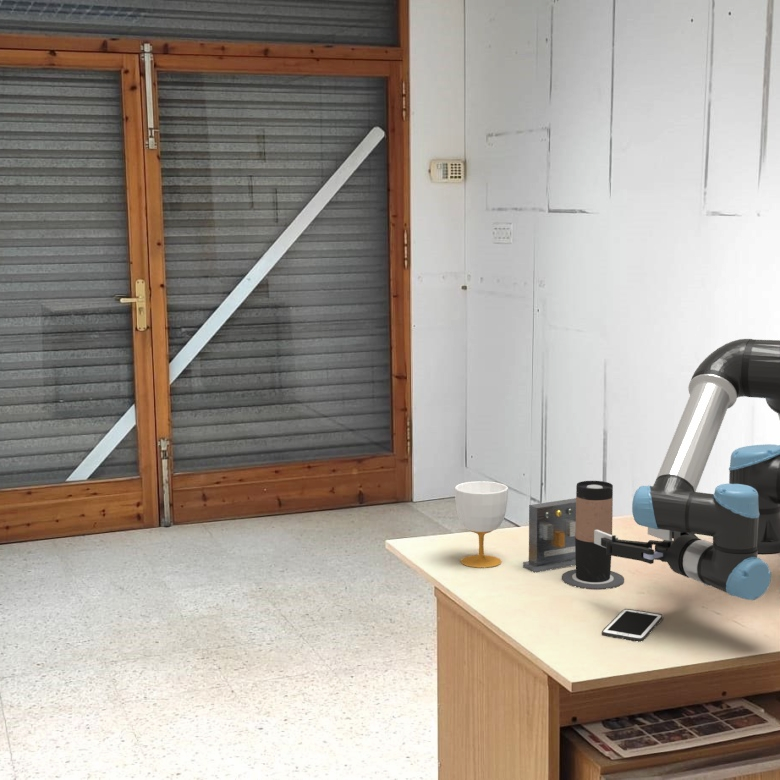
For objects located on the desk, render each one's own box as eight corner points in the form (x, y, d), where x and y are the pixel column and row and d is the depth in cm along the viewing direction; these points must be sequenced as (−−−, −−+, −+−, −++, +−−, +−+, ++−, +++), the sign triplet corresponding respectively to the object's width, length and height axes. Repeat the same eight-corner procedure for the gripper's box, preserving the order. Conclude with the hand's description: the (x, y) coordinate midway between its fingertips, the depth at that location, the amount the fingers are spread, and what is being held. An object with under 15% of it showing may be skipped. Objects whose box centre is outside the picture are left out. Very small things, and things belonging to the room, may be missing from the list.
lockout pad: (633, 576, 239) (633, 573, 239) (610, 593, 228) (610, 590, 228) (576, 566, 246) (576, 564, 246) (551, 582, 235) (551, 580, 235)
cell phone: (600, 637, 205) (600, 632, 205) (624, 612, 218) (624, 607, 218) (641, 644, 202) (641, 639, 202) (664, 619, 214) (664, 614, 214)
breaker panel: (582, 556, 253) (583, 496, 251) (596, 562, 249) (597, 501, 247) (523, 567, 246) (523, 504, 244) (536, 573, 242) (537, 510, 240)
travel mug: (567, 574, 239) (568, 482, 236) (598, 569, 242) (599, 479, 239) (587, 584, 232) (589, 490, 229) (618, 580, 235) (620, 486, 232)
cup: (516, 566, 247) (517, 490, 244) (467, 572, 243) (467, 495, 240) (493, 552, 258) (494, 479, 255) (446, 557, 254) (446, 483, 251)
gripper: (642, 588, 203) (572, 558, 222) (745, 568, 215) (670, 541, 233) (643, 548, 202) (572, 521, 221) (747, 530, 214) (671, 506, 232)
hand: (622, 531), depth 227 cm, fingers open, 13 cm apart
